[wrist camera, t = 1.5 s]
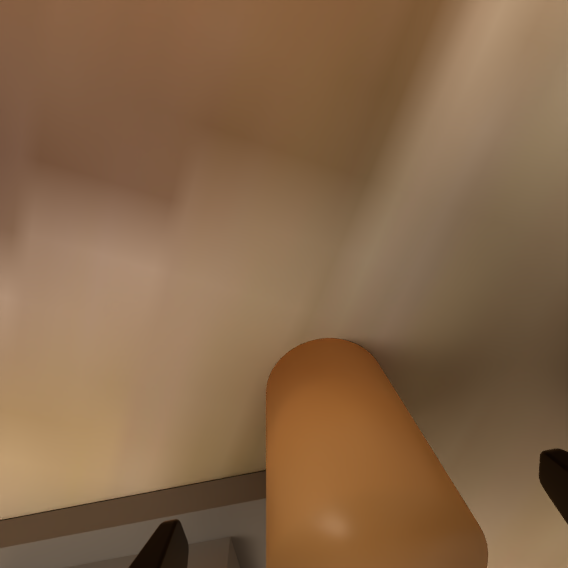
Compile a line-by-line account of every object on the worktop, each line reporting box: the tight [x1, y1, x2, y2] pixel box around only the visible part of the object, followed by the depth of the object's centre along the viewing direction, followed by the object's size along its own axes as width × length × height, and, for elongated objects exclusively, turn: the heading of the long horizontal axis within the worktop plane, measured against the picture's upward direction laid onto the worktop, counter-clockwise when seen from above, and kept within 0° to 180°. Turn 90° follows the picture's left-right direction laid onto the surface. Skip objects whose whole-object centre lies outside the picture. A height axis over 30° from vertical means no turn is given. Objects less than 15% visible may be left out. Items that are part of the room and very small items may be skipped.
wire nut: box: [266, 338, 488, 568], centre depth 9 cm, size 4×4×6 cm
